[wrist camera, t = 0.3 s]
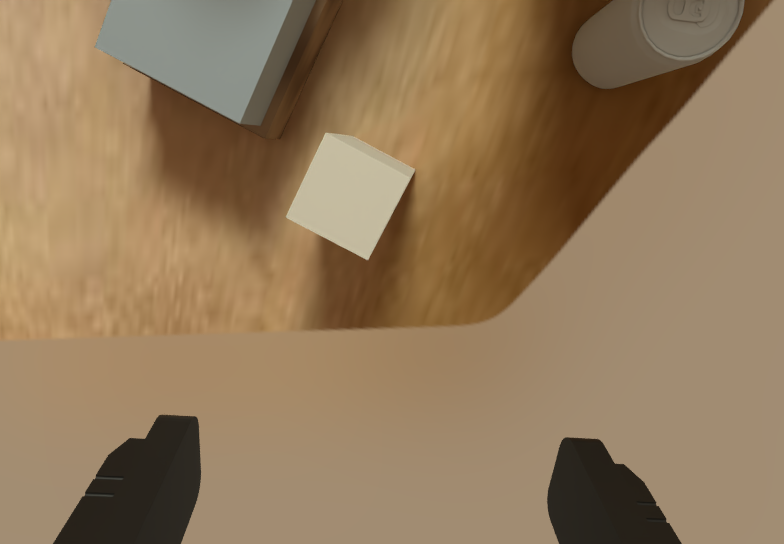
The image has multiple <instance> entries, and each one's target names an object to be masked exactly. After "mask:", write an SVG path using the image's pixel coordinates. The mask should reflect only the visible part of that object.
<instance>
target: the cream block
mask: <svg viewBox="0 0 784 544" xmlns="http://www.w3.org/2000/svg"><path fill="white" fill-rule="evenodd" d="M414 172H415V169H414V168H412V167H410V166H408V165H406V164H404V163H402V162H400V161H399V160H397V159H395V158H393V157H391V156H389V155H387V154H385V153H384V152H382V151H380V150H378V149H376V148H374V147H372V146H370V145H369V144H367V143H365V142H363V141H361V140H359V139H357V138H355V137H354V136H350V135H342V134H333V133H325V135H324V137H323V139H322V142H321V144H320V146H319V148H318V150H317V152H316V154H315V156H314V158H313V161H312V163H311V165H310V167H309V169H308V171H307V173H306V175H305V177H304V180H303V182H302V184H301V186H300V188H299V190H298V192H297V194H296V197H295V199H294V201H293V203H292V205H291V207H290V209H289V211H288V213H287V216H286V218H288V219H290V220H292V221H293V222H295V223H297V224H299V225H301V226H303V227H305V228H307V229H309V230H311V231H313V232H314V233H316V234H318V235H320V236H322V237H324V238H326V239H328V240H330V241H332V242H334V243H336V244H337V245H339V246H341V247H343V248H345V249H347V250H349V251H351V252H353V253H355V254H357V255H359V256H360V257H362V258H364V259H366V260H368V259H369V257H370V255H371V254H372V252H373V250H374V248H375V246H376V244H377V242H378V241H379V239H380V237H381V235H382V233H383V231H384V229H385V228H386V226H387V224H388V222H389V220H390V218H391V216H392V214H393V212H394V210H395V208H396V206H397V205H398V203H399V201H400V199H401V197H402V195H403V193H404V191H405V189H406V187H407V185H408V183H409V182H410V180H411V178H412V176H413V174H414Z"/></svg>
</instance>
